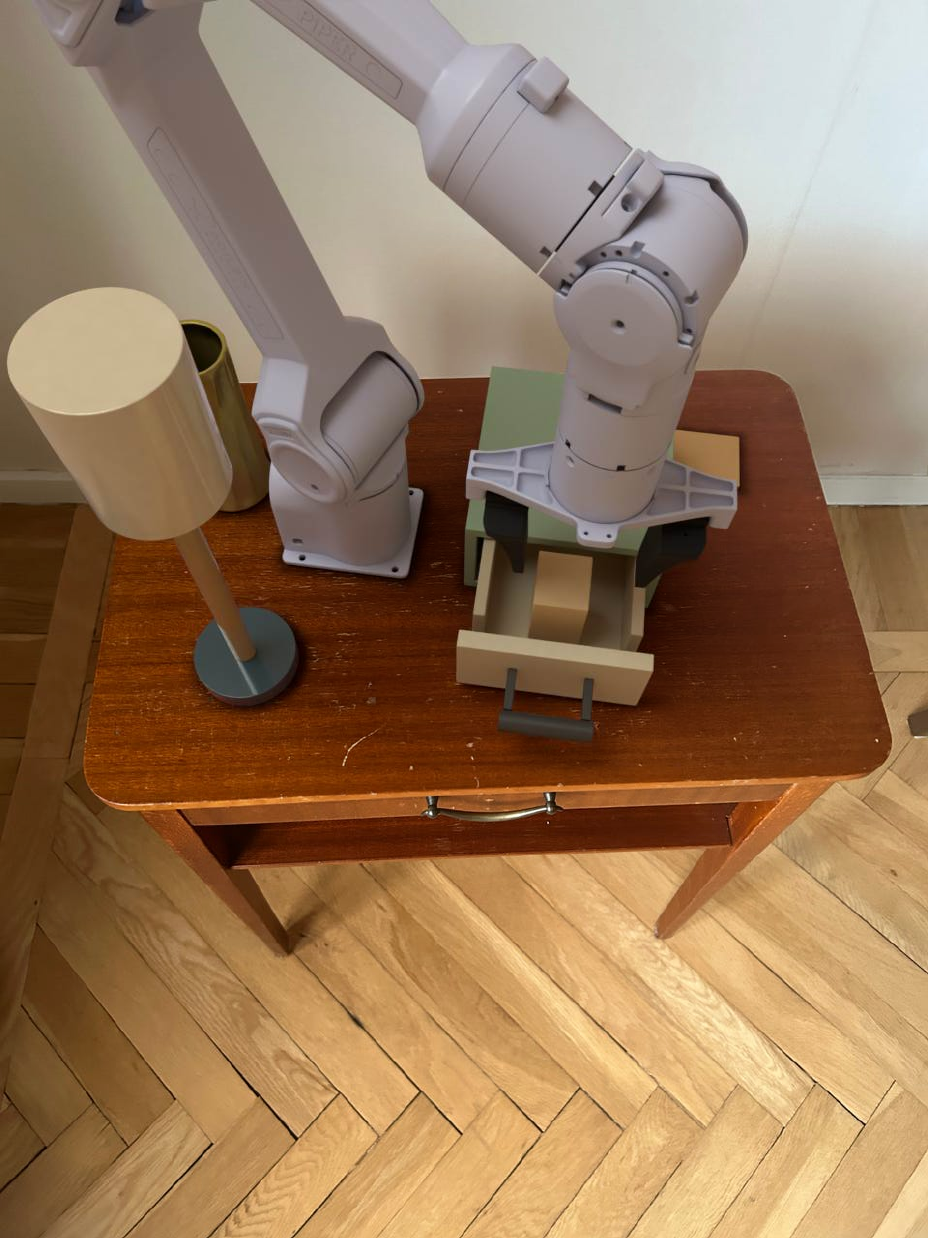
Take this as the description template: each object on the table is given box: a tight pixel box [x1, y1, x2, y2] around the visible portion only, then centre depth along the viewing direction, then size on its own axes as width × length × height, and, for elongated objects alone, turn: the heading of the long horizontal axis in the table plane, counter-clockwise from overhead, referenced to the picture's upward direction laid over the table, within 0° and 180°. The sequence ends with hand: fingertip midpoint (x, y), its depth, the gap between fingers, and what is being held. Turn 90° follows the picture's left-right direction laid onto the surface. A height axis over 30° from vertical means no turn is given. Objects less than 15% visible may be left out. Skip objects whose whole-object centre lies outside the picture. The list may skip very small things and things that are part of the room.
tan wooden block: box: [527, 551, 593, 645], centre depth 59 cm, size 4×4×6 cm
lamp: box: [6, 286, 300, 707], centre depth 49 cm, size 7×7×30 cm
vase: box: [179, 319, 271, 512], centre depth 63 cm, size 6×6×14 cm
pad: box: [673, 429, 741, 490], centre depth 70 cm, size 6×5×1 cm
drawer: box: [455, 537, 655, 745], centre depth 60 cm, size 18×12×6 cm
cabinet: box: [463, 365, 674, 609], centre depth 65 cm, size 15×14×8 cm
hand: (579, 566), depth 55 cm, fingers open, 7 cm apart
